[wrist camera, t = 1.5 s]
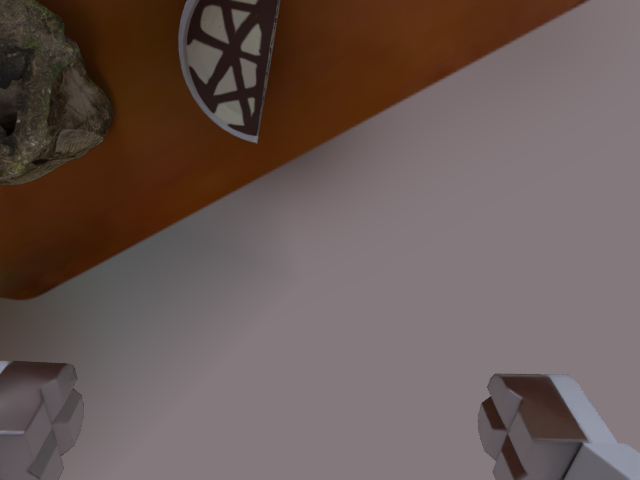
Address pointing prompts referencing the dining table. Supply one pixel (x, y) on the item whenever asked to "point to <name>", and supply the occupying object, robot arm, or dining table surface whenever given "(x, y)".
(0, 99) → the hollow geode rock
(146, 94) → the dining table surface
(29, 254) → the dining table surface
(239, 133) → the food container
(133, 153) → the dining table surface
